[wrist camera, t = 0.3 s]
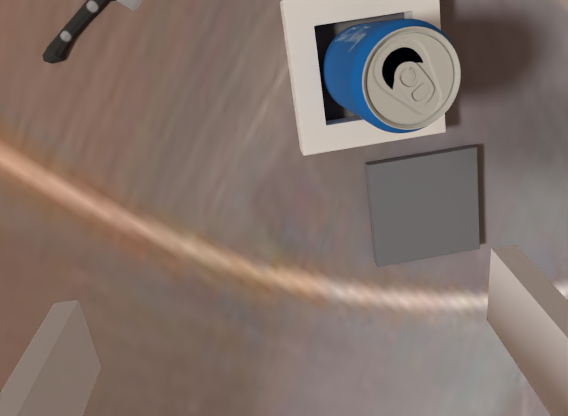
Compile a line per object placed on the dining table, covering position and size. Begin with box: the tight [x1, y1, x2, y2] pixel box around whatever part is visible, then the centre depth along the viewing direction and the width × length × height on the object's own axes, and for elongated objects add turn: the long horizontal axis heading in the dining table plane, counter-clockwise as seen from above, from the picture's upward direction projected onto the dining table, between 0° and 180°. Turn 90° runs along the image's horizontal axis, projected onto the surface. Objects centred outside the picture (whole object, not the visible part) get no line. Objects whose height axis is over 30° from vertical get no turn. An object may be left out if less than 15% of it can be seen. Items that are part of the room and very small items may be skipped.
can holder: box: [280, 0, 446, 155], centre depth 39 cm, size 11×11×2 cm
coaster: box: [365, 145, 480, 267], centre depth 44 cm, size 9×9×1 cm
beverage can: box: [322, 19, 461, 133], centre depth 35 cm, size 6×6×12 cm
